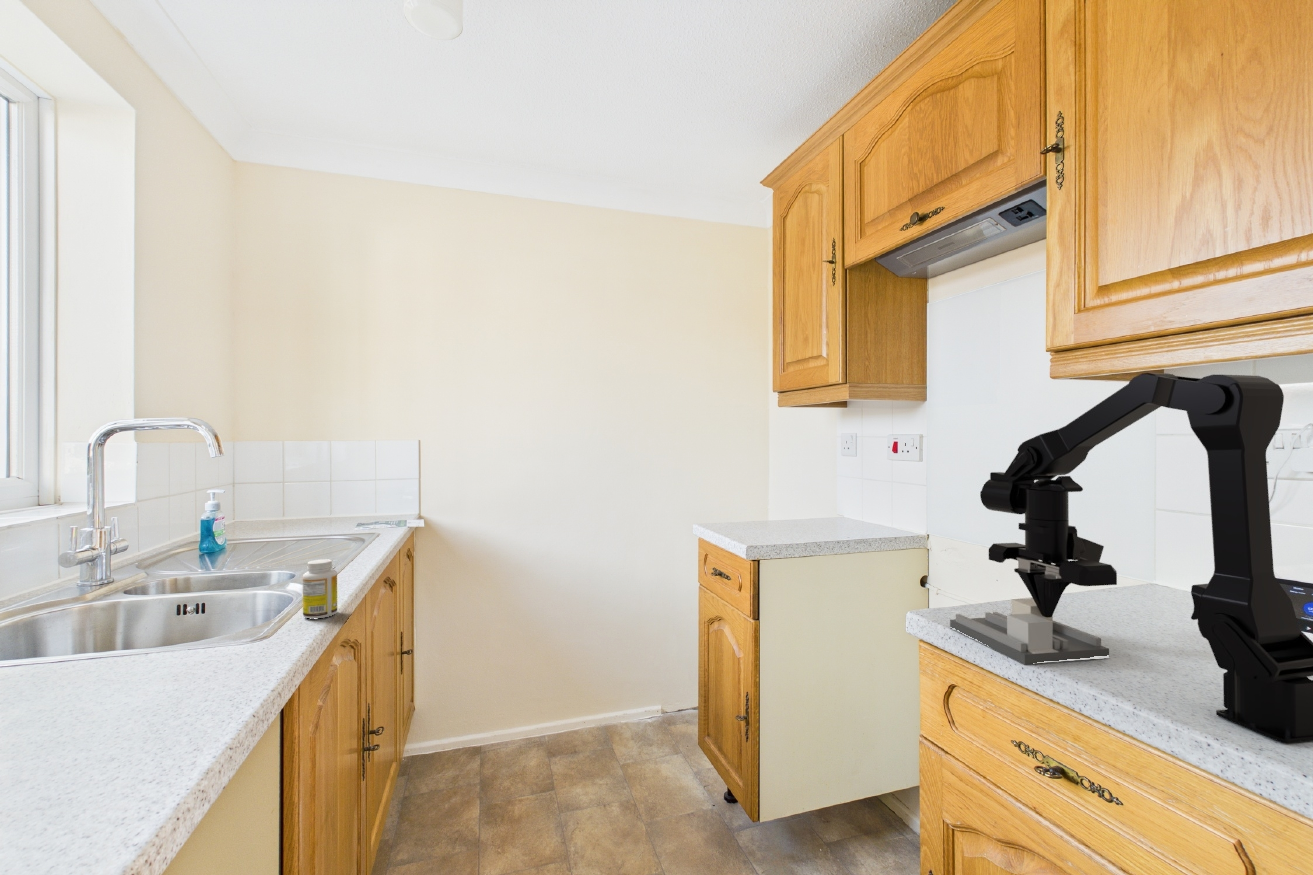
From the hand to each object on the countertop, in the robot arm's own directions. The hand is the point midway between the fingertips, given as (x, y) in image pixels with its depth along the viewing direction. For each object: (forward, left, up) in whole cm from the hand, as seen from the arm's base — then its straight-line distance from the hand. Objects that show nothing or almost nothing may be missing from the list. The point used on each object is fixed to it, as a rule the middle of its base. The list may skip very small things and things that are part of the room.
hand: (1046, 616), depth 90 cm
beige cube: (+3, 0, -3) cm, 4 cm away
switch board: (+1, +3, -4) cm, 6 cm away
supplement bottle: (+35, +121, -4) cm, 126 cm away
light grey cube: (-4, +7, -3) cm, 9 cm away
